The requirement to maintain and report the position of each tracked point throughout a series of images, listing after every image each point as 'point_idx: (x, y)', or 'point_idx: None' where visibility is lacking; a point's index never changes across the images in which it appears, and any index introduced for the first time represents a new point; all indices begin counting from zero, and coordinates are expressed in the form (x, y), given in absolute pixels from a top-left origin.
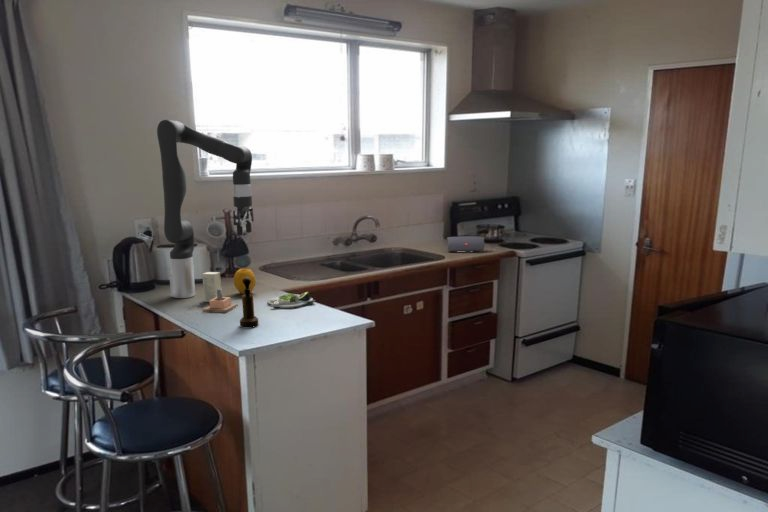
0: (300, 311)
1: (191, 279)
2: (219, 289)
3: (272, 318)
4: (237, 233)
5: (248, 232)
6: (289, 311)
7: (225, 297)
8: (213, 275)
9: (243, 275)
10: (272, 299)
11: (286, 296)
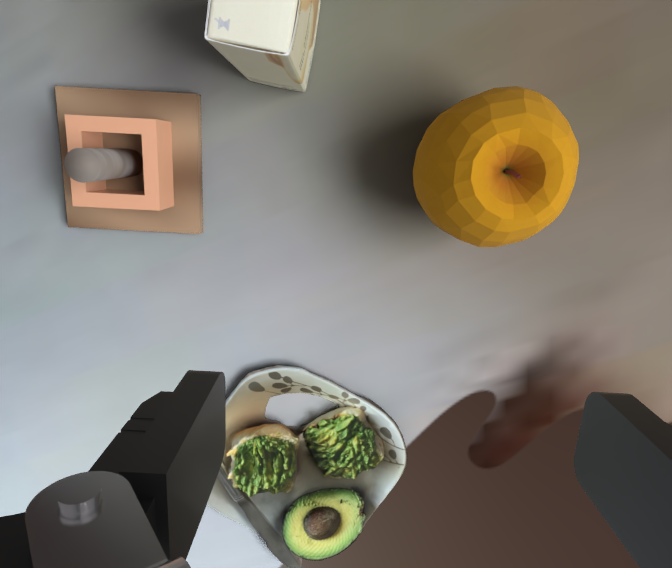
0: None
1: None
2: (78, 167)
3: (47, 455)
4: (149, 400)
5: (581, 428)
6: None
7: (153, 180)
8: (207, 32)
9: (438, 194)
10: (307, 378)
11: (273, 469)
